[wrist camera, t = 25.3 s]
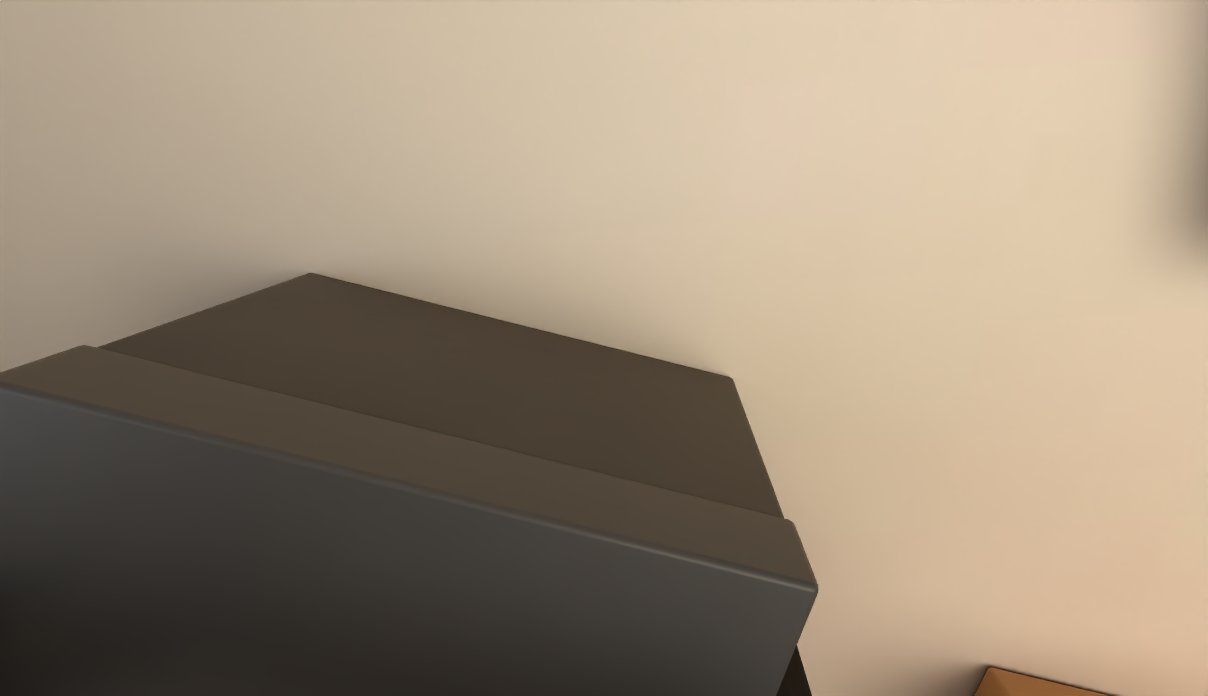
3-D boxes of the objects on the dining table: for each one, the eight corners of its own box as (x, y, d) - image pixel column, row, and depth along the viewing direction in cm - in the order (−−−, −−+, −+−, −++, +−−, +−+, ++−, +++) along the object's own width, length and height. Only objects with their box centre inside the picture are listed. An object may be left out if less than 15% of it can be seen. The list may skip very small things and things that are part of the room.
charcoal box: (306, 267, 10) (-27, 378, 5) (737, 375, 10) (823, 589, 5) (271, 623, 12) (8, 948, 7) (629, 711, 12) (616, 1096, 7)
